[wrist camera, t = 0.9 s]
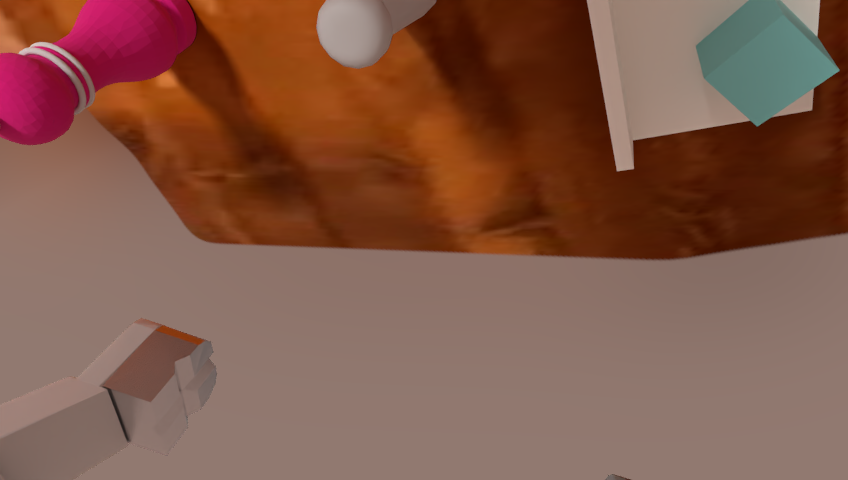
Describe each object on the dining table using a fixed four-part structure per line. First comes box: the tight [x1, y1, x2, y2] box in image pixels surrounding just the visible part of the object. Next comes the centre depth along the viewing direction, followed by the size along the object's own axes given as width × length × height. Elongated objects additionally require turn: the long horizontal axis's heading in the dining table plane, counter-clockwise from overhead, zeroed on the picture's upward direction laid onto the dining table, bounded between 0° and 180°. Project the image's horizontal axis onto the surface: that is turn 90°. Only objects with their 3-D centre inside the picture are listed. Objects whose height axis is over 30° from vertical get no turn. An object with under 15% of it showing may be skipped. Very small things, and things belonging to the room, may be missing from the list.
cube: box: [696, 0, 840, 127], centre depth 34 cm, size 5×5×5 cm
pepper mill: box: [0, 0, 196, 145], centre depth 40 cm, size 7×7×20 cm
